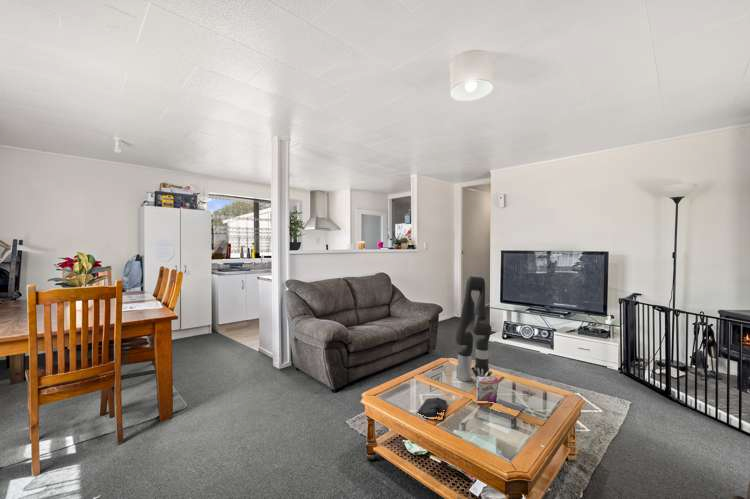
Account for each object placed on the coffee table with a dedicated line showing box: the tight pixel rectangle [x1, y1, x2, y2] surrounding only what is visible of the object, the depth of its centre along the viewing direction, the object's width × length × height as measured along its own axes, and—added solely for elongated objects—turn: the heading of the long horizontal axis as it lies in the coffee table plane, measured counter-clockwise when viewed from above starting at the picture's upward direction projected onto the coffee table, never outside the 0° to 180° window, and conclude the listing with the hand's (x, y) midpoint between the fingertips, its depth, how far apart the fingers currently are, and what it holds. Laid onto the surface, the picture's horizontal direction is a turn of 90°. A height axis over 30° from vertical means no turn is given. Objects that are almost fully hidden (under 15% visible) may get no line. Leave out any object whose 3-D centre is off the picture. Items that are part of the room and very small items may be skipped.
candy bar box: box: [475, 375, 499, 403], centre depth 191 cm, size 11×5×16 cm, turn 84°
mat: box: [485, 398, 525, 421], centre depth 186 cm, size 15×18×1 cm
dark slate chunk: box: [416, 397, 448, 417], centre depth 185 cm, size 15×22×5 cm
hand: (481, 385), depth 195 cm, fingers closed
